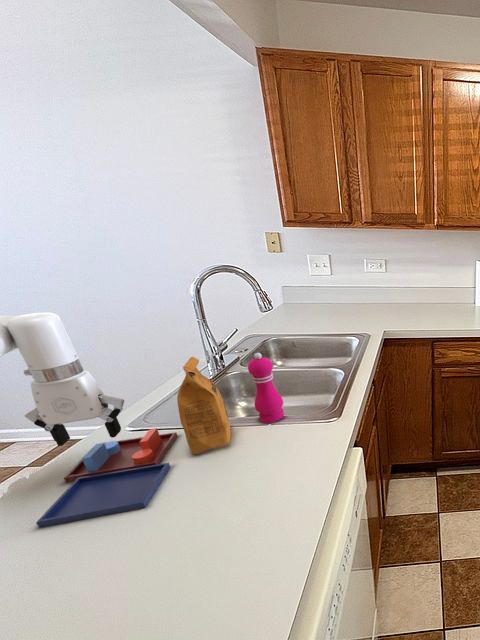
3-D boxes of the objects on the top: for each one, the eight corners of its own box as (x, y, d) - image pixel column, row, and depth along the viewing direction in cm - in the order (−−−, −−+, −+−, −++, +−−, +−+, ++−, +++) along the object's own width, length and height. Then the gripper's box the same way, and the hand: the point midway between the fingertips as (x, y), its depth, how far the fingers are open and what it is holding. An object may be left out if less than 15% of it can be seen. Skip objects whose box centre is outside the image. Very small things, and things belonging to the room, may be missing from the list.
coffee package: (236, 424, 110) (215, 351, 102) (233, 447, 100) (210, 368, 92) (193, 433, 106) (168, 357, 98) (186, 458, 96) (157, 376, 88)
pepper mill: (252, 422, 112) (235, 356, 104) (270, 409, 118) (255, 347, 110) (274, 425, 110) (258, 359, 102) (291, 412, 116) (278, 349, 109)
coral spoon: (149, 443, 101) (144, 429, 100) (167, 440, 103) (162, 427, 101) (131, 466, 93) (125, 452, 91) (150, 463, 94) (145, 449, 92)
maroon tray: (65, 483, 88) (63, 477, 88) (98, 448, 100) (96, 443, 100) (157, 467, 93) (155, 462, 92) (177, 436, 105) (176, 432, 104)
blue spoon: (102, 470, 91) (96, 456, 90) (82, 473, 90) (75, 459, 89) (123, 446, 100) (117, 433, 99) (105, 449, 99) (99, 435, 98)
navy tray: (38, 528, 76) (35, 522, 76) (80, 482, 88) (77, 477, 88) (145, 507, 81) (143, 502, 81) (170, 467, 93) (168, 462, 93)
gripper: (-8, 384, 79) (32, 455, 85) (98, 371, 83) (128, 440, 90) (19, 370, 85) (54, 436, 92) (115, 358, 90) (142, 423, 97)
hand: (90, 438), depth 91 cm, fingers open, 9 cm apart
